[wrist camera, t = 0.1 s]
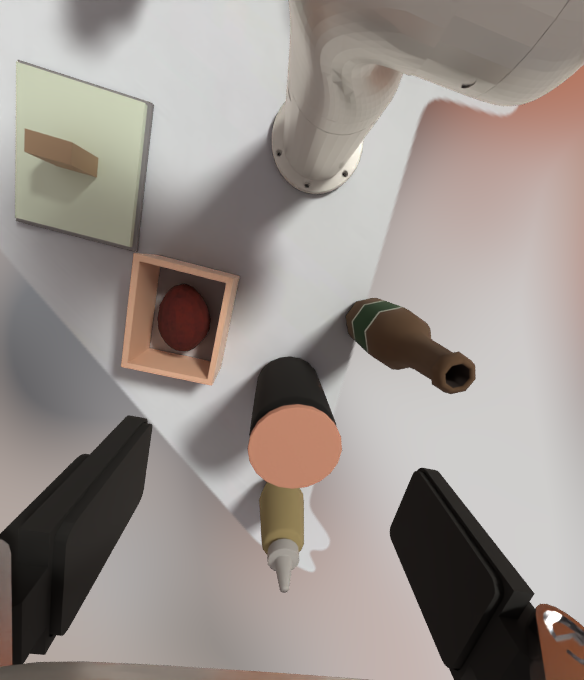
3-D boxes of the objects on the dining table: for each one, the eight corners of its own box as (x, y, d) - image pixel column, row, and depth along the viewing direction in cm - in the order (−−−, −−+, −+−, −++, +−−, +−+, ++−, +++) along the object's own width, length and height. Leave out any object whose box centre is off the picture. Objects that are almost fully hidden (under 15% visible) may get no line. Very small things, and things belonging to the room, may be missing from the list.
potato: (168, 343, 45) (152, 355, 40) (165, 280, 43) (148, 283, 37) (213, 346, 46) (204, 358, 40) (214, 284, 43) (204, 287, 38)
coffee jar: (304, 418, 51) (320, 499, 33) (248, 400, 49) (234, 475, 32) (327, 366, 48) (357, 424, 31) (269, 345, 47) (266, 394, 29)
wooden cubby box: (156, 254, 42) (133, 252, 35) (239, 276, 43) (233, 278, 37) (143, 351, 45) (120, 366, 39) (220, 367, 47) (211, 385, 40)
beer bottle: (395, 301, 46) (518, 340, 23) (382, 345, 48) (484, 423, 25) (350, 292, 45) (430, 323, 22) (338, 338, 47) (401, 411, 24)
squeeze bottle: (310, 486, 55) (326, 590, 37) (278, 508, 56) (279, 619, 38) (284, 459, 53) (289, 556, 35) (251, 483, 54) (240, 588, 36)
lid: (22, 65, 34) (-27, 27, 29) (147, 106, 36) (124, 77, 31) (20, 218, 39) (-23, 211, 33) (132, 247, 41) (109, 244, 35)
